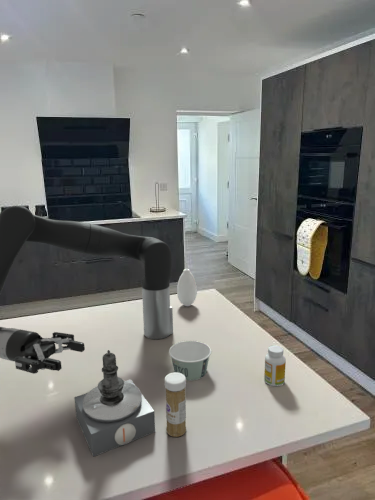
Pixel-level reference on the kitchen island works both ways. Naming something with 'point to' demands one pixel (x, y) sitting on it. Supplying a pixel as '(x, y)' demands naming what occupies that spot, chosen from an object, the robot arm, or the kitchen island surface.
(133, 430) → the kitchen scale
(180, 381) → the sprinkles bottle
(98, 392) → the scale pan
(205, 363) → the food container
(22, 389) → the kitchen island surface
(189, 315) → the kitchen island surface
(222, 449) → the kitchen island surface
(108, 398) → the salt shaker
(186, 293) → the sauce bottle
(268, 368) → the supplement bottle
